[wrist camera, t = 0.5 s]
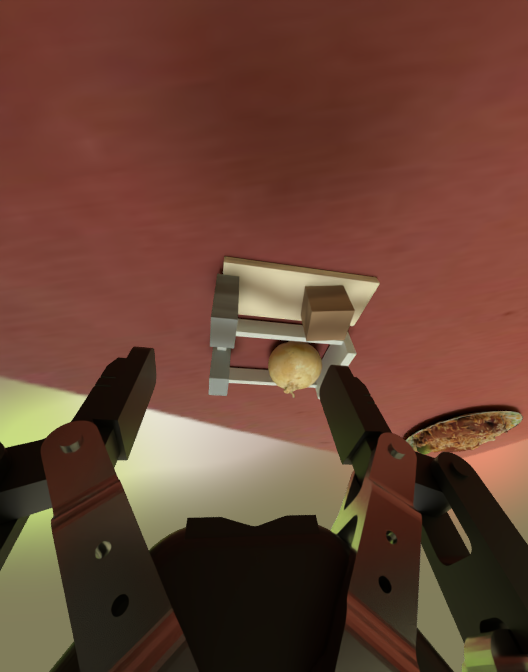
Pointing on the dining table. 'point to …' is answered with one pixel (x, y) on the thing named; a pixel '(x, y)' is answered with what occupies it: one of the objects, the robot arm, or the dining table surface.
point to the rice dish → (464, 431)
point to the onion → (294, 365)
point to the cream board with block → (274, 293)
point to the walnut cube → (326, 313)
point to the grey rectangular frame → (223, 374)
